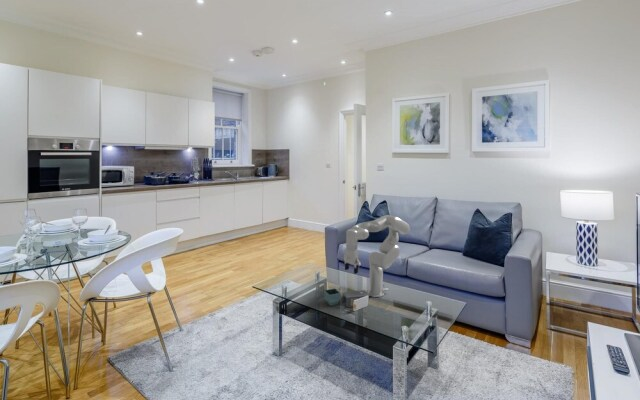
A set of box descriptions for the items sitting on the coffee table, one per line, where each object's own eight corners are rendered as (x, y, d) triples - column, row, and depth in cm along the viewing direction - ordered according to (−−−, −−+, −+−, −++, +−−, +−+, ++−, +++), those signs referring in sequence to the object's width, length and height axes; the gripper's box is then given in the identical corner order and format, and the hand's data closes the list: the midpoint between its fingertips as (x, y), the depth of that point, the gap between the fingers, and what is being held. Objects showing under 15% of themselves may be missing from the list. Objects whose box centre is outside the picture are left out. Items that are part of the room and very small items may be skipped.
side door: (367, 305, 238) (367, 295, 237) (369, 306, 237) (369, 296, 236) (353, 310, 230) (353, 300, 229) (355, 311, 228) (355, 301, 227)
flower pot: (323, 302, 242) (323, 290, 241) (335, 300, 246) (335, 288, 244) (328, 307, 234) (329, 295, 233) (340, 305, 238) (340, 293, 236)
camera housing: (363, 299, 247) (364, 289, 246) (368, 305, 239) (368, 294, 237) (340, 301, 243) (341, 291, 242) (344, 307, 235) (344, 297, 233)
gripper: (339, 245, 243) (339, 269, 246) (356, 251, 229) (356, 276, 232) (347, 243, 248) (346, 266, 250) (364, 249, 234) (364, 273, 237)
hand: (351, 271), depth 241 cm, fingers open, 8 cm apart
